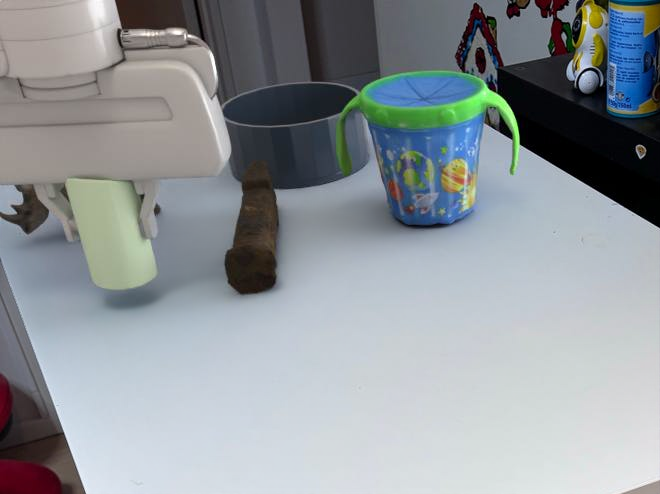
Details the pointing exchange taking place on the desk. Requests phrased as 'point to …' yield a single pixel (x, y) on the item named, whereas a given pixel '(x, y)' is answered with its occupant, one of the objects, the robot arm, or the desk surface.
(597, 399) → the desk surface
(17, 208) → the rhino figurine
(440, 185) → the snack cup
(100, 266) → the candle
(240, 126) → the tin
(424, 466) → the desk surface
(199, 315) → the desk surface
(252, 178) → the brown rough bar
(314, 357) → the desk surface
